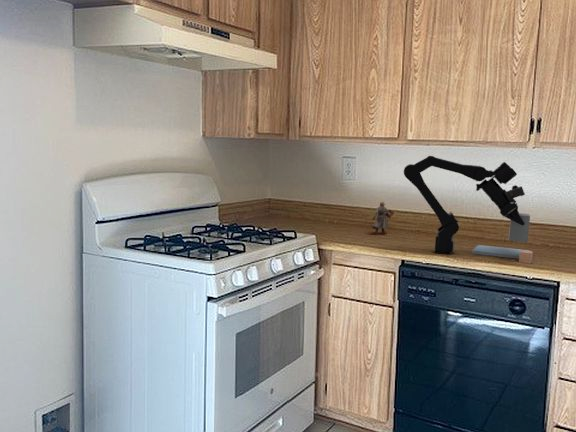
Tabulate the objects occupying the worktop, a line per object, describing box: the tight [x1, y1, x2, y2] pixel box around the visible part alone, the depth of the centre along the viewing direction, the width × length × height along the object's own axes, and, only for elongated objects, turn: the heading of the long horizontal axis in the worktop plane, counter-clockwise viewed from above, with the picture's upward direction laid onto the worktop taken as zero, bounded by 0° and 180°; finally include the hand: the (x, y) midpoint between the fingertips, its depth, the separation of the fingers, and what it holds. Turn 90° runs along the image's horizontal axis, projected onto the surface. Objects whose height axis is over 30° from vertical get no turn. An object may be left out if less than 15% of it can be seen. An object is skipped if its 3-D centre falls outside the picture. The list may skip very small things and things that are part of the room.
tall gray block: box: [508, 212, 531, 243], centre depth 212 cm, size 6×6×10 cm
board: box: [471, 244, 531, 260], centre depth 222 cm, size 20×14×1 cm
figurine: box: [370, 201, 395, 235], centre depth 260 cm, size 14×7×15 cm, turn 111°
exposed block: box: [518, 249, 534, 265], centre depth 206 cm, size 4×4×4 cm
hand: (523, 223), depth 211 cm, fingers closed on tall gray block, 6 cm apart
